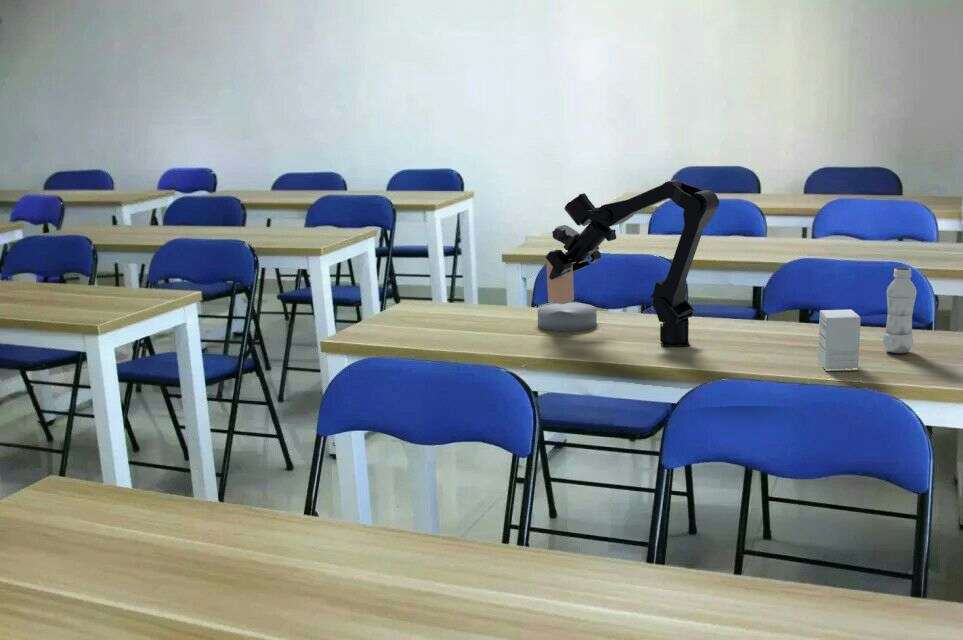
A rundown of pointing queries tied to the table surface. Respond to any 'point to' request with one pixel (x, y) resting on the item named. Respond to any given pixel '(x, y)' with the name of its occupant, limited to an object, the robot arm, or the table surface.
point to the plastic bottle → (900, 312)
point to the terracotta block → (560, 286)
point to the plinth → (567, 317)
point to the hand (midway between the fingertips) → (556, 276)
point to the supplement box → (839, 339)
